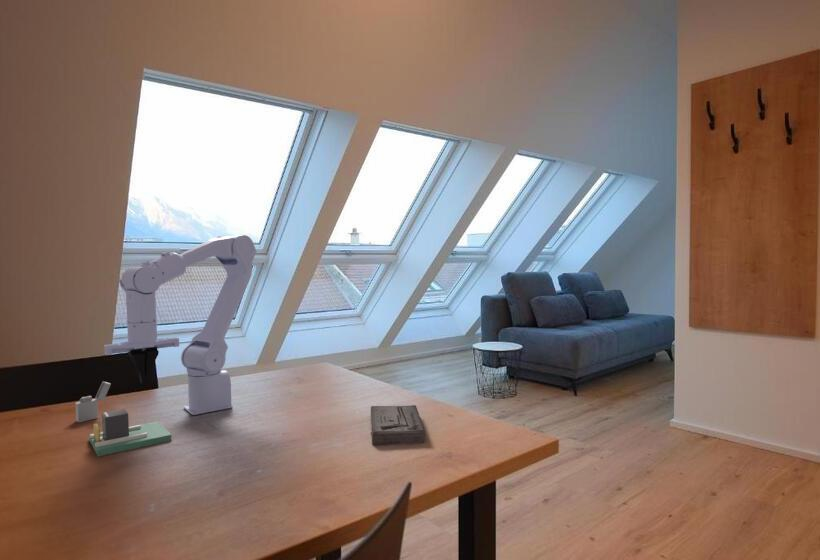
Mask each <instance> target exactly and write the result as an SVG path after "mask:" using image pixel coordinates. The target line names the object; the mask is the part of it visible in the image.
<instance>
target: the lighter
mask: <svg viewBox="0 0 820 560" xmlns="http://www.w3.org/2000/svg"><path fill="white" fill-rule="evenodd" d="M110 387H111V383H110V382H107V381H102V382H101V384H100V386H99V388H98V390H97V393H96V395H95V398H93V397H92V395H87V396H82V397H81V398H80V399H79V401H76V402H75V403H74V404H75V405H74V406H75V407H74V408H75V422H77V423H83V422H86V421H90V420H94V419H99V405H98V403H99V401H102V402H103V401H104V400H105V399H106V396H107V395H108V391H109V390H110Z"/></svg>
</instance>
